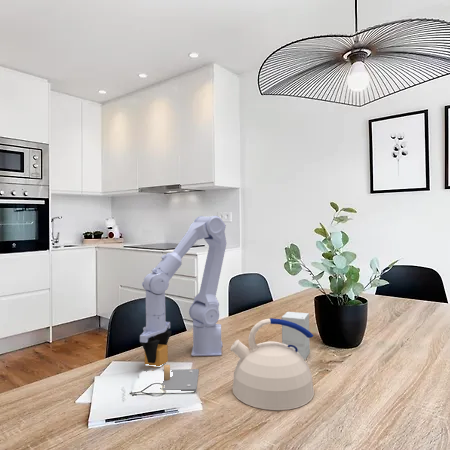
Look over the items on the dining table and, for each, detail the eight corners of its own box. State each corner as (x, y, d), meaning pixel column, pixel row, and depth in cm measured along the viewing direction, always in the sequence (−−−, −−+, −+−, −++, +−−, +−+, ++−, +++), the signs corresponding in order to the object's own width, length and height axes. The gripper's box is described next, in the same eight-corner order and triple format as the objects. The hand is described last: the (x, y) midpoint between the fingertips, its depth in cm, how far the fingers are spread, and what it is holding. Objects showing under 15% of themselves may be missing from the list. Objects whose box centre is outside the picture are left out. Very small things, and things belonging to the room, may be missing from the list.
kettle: (231, 373, 101) (230, 308, 101) (306, 373, 100) (305, 308, 100) (230, 411, 81) (229, 331, 81) (323, 411, 80) (322, 330, 80)
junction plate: (198, 372, 101) (198, 356, 101) (196, 393, 89) (195, 374, 89) (141, 373, 101) (141, 357, 101) (131, 394, 89) (130, 376, 89)
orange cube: (153, 359, 111) (153, 343, 111) (167, 361, 110) (167, 345, 110) (144, 365, 107) (144, 348, 106) (159, 367, 105) (159, 350, 105)
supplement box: (310, 352, 116) (310, 313, 116) (305, 360, 109) (304, 318, 109) (287, 349, 119) (287, 310, 119) (281, 357, 112) (281, 316, 112)
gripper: (156, 307, 116) (156, 349, 116) (130, 318, 102) (131, 366, 103) (175, 308, 114) (176, 351, 114) (152, 320, 100) (152, 369, 100)
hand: (156, 358), depth 108 cm, fingers closed on orange cube, 5 cm apart
